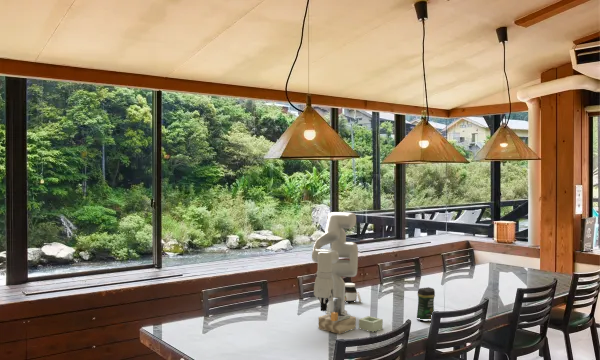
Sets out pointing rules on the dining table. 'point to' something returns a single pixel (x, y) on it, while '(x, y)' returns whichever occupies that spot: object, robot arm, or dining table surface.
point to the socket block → (336, 324)
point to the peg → (337, 305)
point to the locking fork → (338, 316)
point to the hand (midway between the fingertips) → (323, 310)
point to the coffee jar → (425, 303)
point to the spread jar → (351, 293)
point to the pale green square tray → (370, 323)
